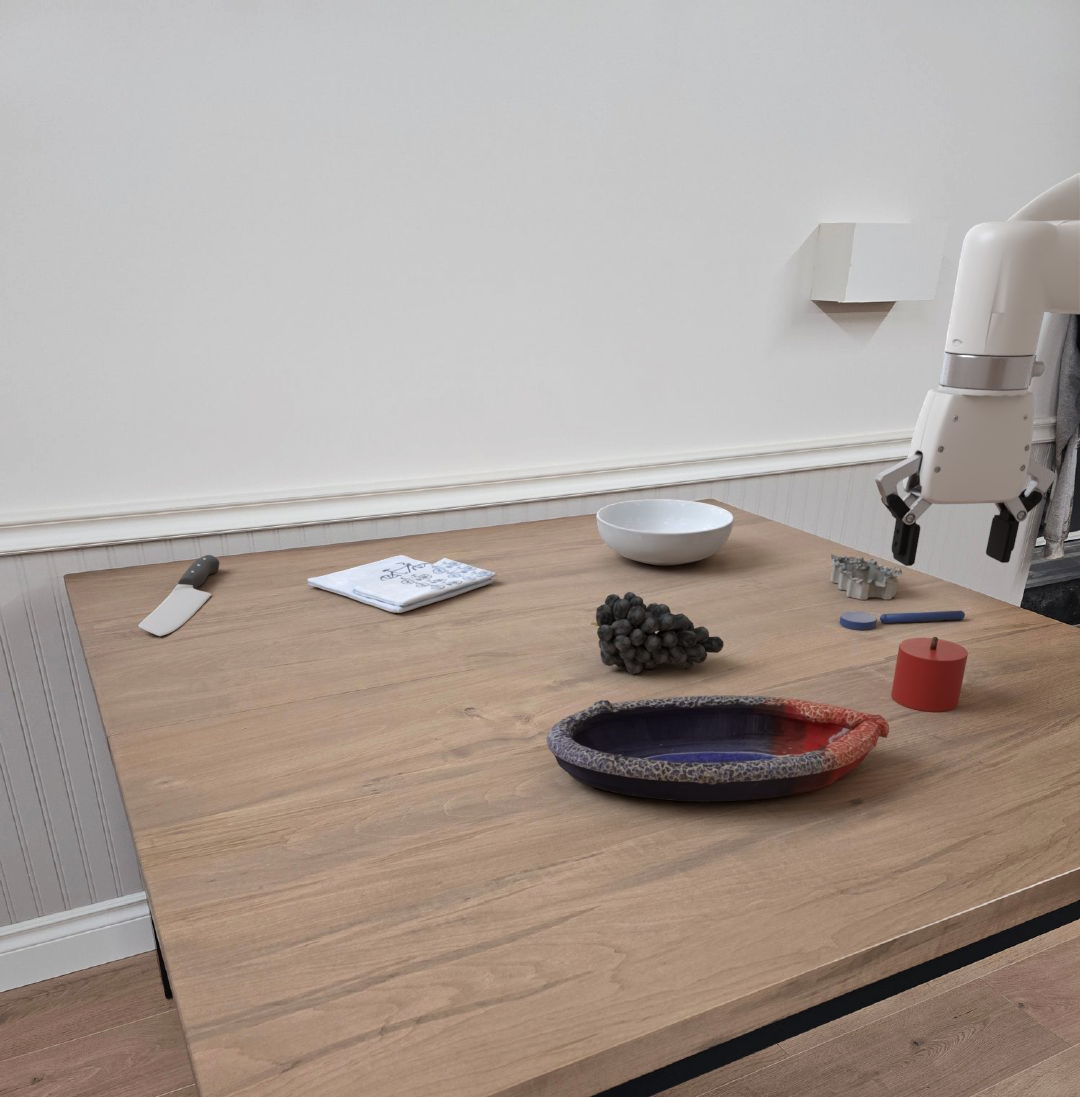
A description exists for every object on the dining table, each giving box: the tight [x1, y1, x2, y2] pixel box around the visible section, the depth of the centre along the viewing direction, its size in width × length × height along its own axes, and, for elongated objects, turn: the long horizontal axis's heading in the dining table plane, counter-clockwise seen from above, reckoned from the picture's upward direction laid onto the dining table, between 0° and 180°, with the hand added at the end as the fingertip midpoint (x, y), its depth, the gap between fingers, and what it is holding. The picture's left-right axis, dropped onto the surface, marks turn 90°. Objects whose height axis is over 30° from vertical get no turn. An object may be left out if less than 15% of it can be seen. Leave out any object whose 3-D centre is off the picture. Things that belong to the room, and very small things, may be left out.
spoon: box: [839, 609, 966, 631], centre depth 122 cm, size 16×4×1 cm, turn 96°
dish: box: [546, 694, 890, 802], centre depth 86 cm, size 16×31×5 cm, turn 92°
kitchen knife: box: [137, 554, 220, 637], centre depth 132 cm, size 29×3×5 cm
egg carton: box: [830, 553, 903, 601], centre depth 135 cm, size 11×8×4 cm
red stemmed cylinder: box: [890, 636, 969, 713], centre depth 100 cm, size 7×7×7 cm
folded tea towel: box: [307, 554, 498, 614], centre depth 138 cm, size 19×20×2 cm
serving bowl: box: [596, 498, 735, 567], centre depth 149 cm, size 21×21×7 cm
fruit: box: [590, 591, 725, 675], centre depth 108 cm, size 9×8×15 cm
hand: (950, 560), depth 94 cm, fingers open, 9 cm apart
